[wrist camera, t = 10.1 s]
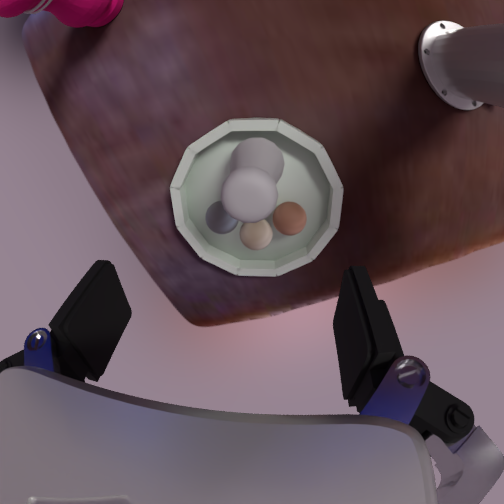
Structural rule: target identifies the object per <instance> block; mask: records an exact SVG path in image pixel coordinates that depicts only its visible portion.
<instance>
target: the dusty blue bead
mask: <svg viewBox="0 0 504 504" xmlns="http://www.w3.org/2000/svg"><path fill="white" fill-rule="evenodd" d="M205 220H206V224H207V226H208V227H209V229H210V230H211V231H213V232H214V233H217V234H227V233H230V232H231V231H233V230H234V229H235V228H236V226H237V224H238V220H236V219H233V218H232V217H231V216H230V215H229V214H228V213H227V212H226V211H225V210H224V207H223V204H222V201H217V202H215V203H213V204H212V205H210V207H209V208H208V209H207V212H206V215H205Z"/></svg>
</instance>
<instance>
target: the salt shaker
mask: <svg viewBox="0 0 504 504" xmlns="http://www.w3.org/2000/svg"><path fill="white" fill-rule="evenodd" d="M284 165H285V163H284V158H283V154H282V151H281V150H280V149H279V148H278V147H277V146H276V145H275V143H273V142H271V141H269V140H267V139H265V138H249V139H247V140H245V141H243V142H240V143H239V144H238V145H237V146H236V148H235V149H234V150H233V152H232V154H231V159H230V174H229V176H228V177H227V178H226V180H225V181H224V182H223V184H222V190H221V201H222V204H223V207H224V210H225V211H226V212H227V213H228V214H229V215H230V216H231V217H232V218H233V219H236V220H238V221H241V222H243V223H256V222H259V221H261V220H263V219H266V218H267V217H268V216H269V215H270V214H271V213H272V211H273V210H274V209H275V207H276V203H277V199H278V191H277V187H276V184H277V182H278V181H279V179H280V178H281V176H282V173H283V169H284Z"/></svg>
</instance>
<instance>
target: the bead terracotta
mask: <svg viewBox="0 0 504 504" xmlns="http://www.w3.org/2000/svg"><path fill="white" fill-rule="evenodd" d="M306 221H307V216H306V213H305V210H304V209H303V208H302V206H300V205H299V204H297V203H295V202H284V203H281V204H280V205H278V206H277V207H276V209H275V210H274V213H273V224H274V227H275V228H276V229H277V231H279V232H280V233H281V234H284V235H288V236H292V235H296V234H298V233H300V232H301V231H302V230H303V229H304V227H305V225H306Z"/></svg>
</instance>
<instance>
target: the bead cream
mask: <svg viewBox="0 0 504 504" xmlns="http://www.w3.org/2000/svg"><path fill="white" fill-rule="evenodd" d="M239 235H240V240H241V242H242V243H243V245H244V246H245V247H247V248H249V249H251V250H261V249H264V248H265V247H267V246H268V245H269V243H270V242H271V240H272V236H273V232H272V228H271V226H270V224H269V223H268V222H267V221H266V220H264V219H263V220H261V221H259V222H256V223H243V224H242V226H241V228H240V232H239Z"/></svg>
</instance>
